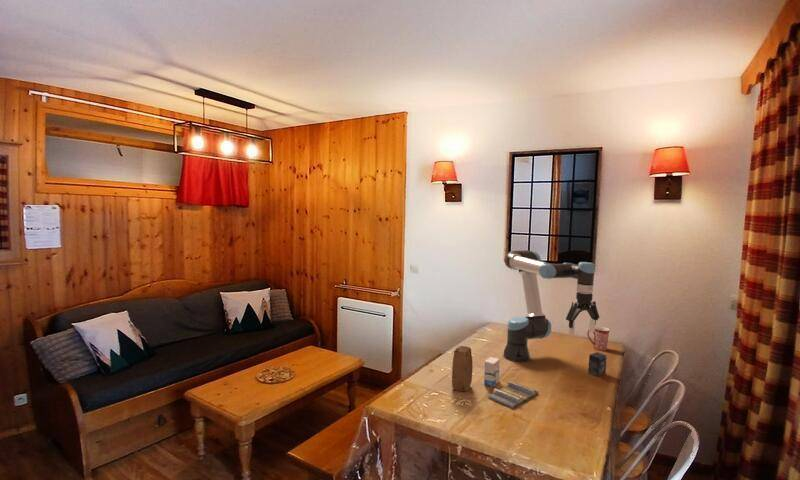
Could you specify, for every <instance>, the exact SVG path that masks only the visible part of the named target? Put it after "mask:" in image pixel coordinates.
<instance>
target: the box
mask: <svg viewBox="0 0 800 480" xmlns="http://www.w3.org/2000/svg"><path fill="white" fill-rule="evenodd" d="M588 355H589V356H588V357H589V358H588V369H587V371H588V372H587V373H588V374H590V375H592V376H595V377H600V376H603V375H606V373H607V358H608V355H607V354H604V353H602V352H598V351H597V352H594V353H590V354H588Z"/></svg>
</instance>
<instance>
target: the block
mask: <svg viewBox="0 0 800 480" xmlns="http://www.w3.org/2000/svg"><path fill="white" fill-rule="evenodd" d="M473 366H474V365H473V355H472V348H471V347H470V346H465V345H459V346H457V347H456V348H455V349H454V351H453V357H452V367H451V369H452V370H451V371H452V372H451V388H452V389H453V390H455V391H458V392H466V391H469V389H470V387H471V384H472V380H473Z"/></svg>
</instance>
